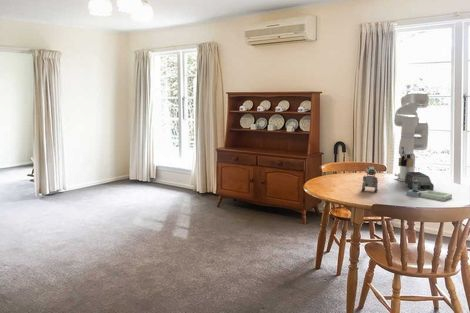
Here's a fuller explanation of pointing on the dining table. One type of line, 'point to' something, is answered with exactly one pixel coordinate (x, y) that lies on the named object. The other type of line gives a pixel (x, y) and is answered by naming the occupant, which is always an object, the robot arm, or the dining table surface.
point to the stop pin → (415, 185)
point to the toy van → (423, 181)
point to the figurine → (370, 179)
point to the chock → (409, 162)
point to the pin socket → (413, 193)
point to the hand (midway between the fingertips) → (405, 165)
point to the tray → (435, 195)
